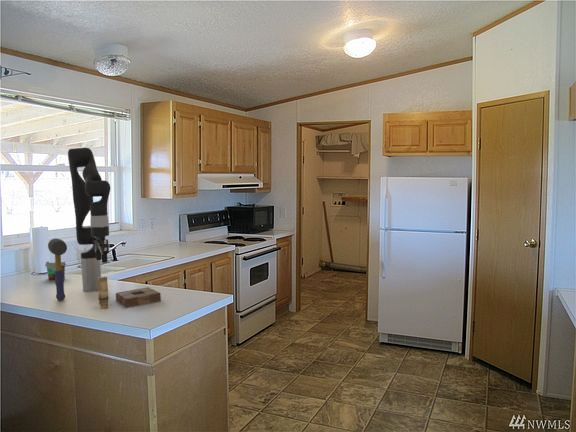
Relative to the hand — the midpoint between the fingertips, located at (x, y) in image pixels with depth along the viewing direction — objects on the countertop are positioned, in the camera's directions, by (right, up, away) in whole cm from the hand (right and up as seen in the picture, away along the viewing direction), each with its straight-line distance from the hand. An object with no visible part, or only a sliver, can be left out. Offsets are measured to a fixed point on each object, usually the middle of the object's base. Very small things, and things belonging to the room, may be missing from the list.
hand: (101, 261), depth 211 cm
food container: (-53, -17, +64) cm, 85 cm away
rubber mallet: (-26, -21, +17) cm, 37 cm away
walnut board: (+13, -20, +12) cm, 27 cm away
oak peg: (0, -21, +2) cm, 21 cm away
